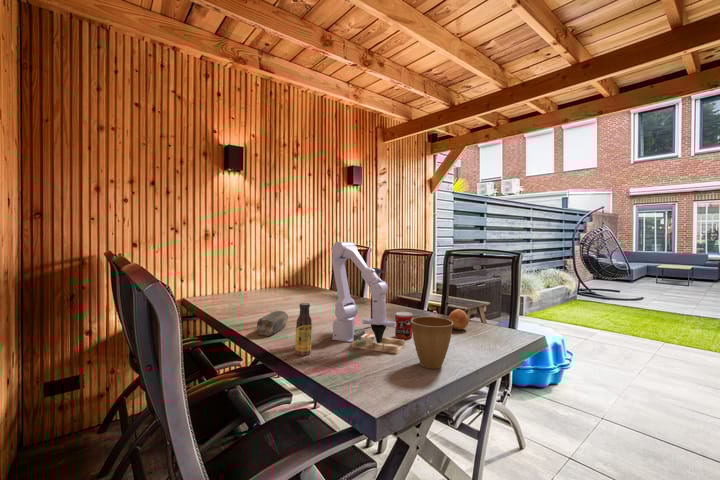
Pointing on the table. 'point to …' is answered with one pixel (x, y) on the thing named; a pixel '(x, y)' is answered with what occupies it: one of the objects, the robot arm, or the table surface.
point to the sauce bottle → (303, 331)
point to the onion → (459, 319)
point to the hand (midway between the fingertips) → (379, 342)
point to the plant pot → (431, 340)
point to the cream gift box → (368, 338)
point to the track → (378, 344)
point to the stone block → (272, 323)
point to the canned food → (403, 325)
